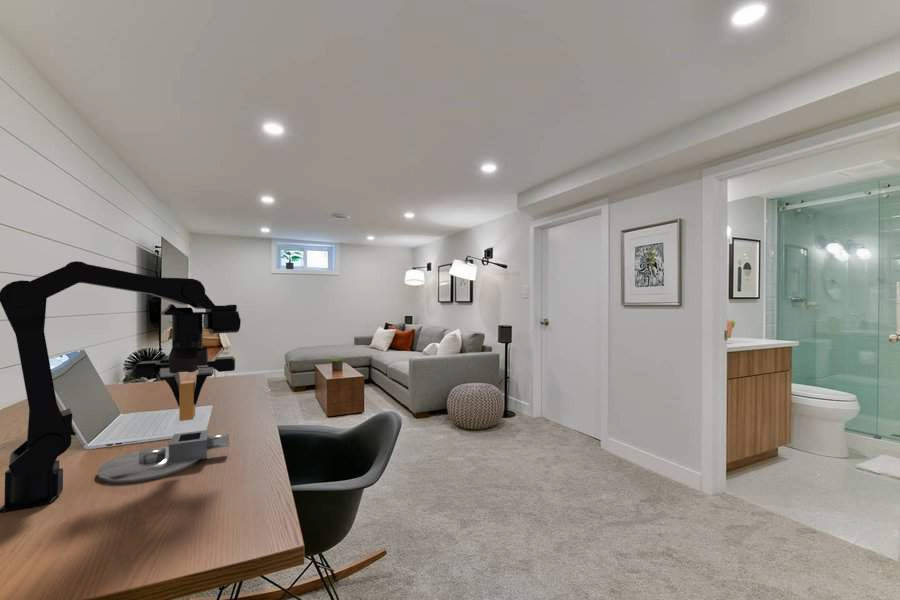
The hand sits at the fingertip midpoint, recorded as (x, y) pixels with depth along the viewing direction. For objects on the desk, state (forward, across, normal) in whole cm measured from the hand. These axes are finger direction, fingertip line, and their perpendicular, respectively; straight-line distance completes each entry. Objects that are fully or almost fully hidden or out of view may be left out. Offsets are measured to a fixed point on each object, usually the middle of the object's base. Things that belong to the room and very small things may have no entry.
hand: (187, 405), depth 90 cm
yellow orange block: (+3, 0, 0) cm, 3 cm away
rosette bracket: (+13, -4, +2) cm, 14 cm away
